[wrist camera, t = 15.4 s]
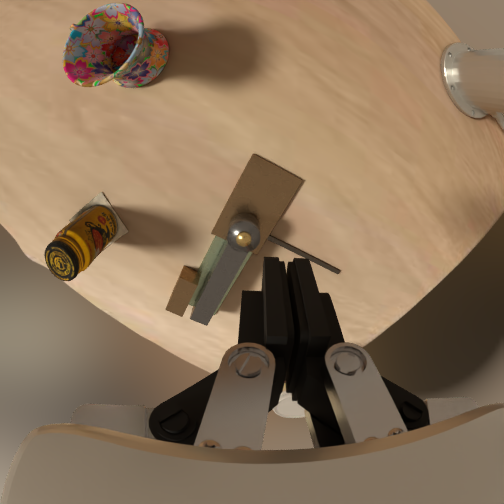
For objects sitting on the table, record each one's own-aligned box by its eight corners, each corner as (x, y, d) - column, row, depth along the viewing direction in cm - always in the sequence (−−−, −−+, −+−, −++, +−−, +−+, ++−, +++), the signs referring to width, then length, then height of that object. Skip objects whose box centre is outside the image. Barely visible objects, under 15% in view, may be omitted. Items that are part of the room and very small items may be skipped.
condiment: (129, 231, 37) (90, 276, 26) (95, 255, 39) (57, 299, 28) (102, 191, 34) (53, 224, 23) (70, 219, 36) (25, 256, 25)
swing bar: (237, 208, 34) (235, 218, 31) (265, 221, 35) (266, 233, 32) (189, 304, 42) (185, 319, 39) (212, 313, 43) (210, 329, 39)
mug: (189, 46, 25) (163, 21, 16) (143, 103, 28) (101, 103, 19) (125, 12, 21) (86, -12, 12) (85, 65, 24) (37, 59, 15)
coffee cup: (289, 330, 46) (296, 387, 35) (326, 347, 48) (339, 399, 38) (258, 359, 49) (259, 412, 39) (295, 373, 52) (302, 422, 41)
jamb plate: (373, 224, 36) (374, 225, 36) (327, 286, 41) (327, 287, 41) (253, 153, 32) (253, 154, 31) (211, 232, 37) (211, 233, 36)
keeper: (253, 249, 38) (254, 260, 35) (213, 315, 44) (211, 328, 41) (202, 225, 36) (198, 235, 33) (170, 297, 42) (165, 309, 39)
